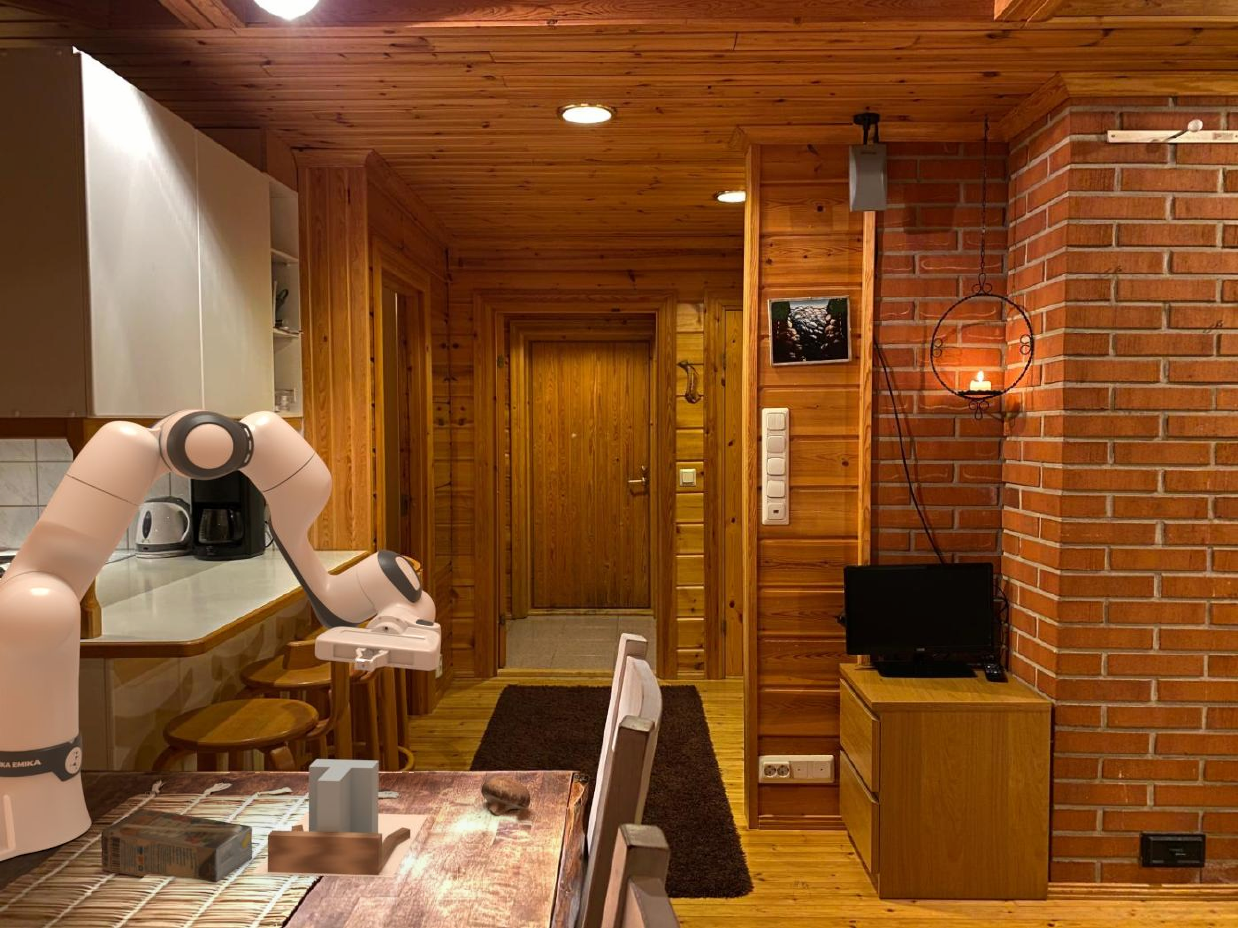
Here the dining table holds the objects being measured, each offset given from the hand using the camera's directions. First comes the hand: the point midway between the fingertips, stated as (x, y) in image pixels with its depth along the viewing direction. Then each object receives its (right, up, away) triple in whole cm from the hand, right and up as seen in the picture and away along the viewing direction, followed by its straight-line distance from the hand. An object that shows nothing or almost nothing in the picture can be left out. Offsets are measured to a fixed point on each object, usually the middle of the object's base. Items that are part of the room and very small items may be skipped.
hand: (363, 665), depth 143 cm
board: (+1, -24, -12) cm, 27 cm away
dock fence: (+1, -23, -16) cm, 28 cm away
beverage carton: (-20, -24, -18) cm, 37 cm away
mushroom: (+22, -24, +2) cm, 33 cm away
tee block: (+1, -23, -16) cm, 28 cm away
